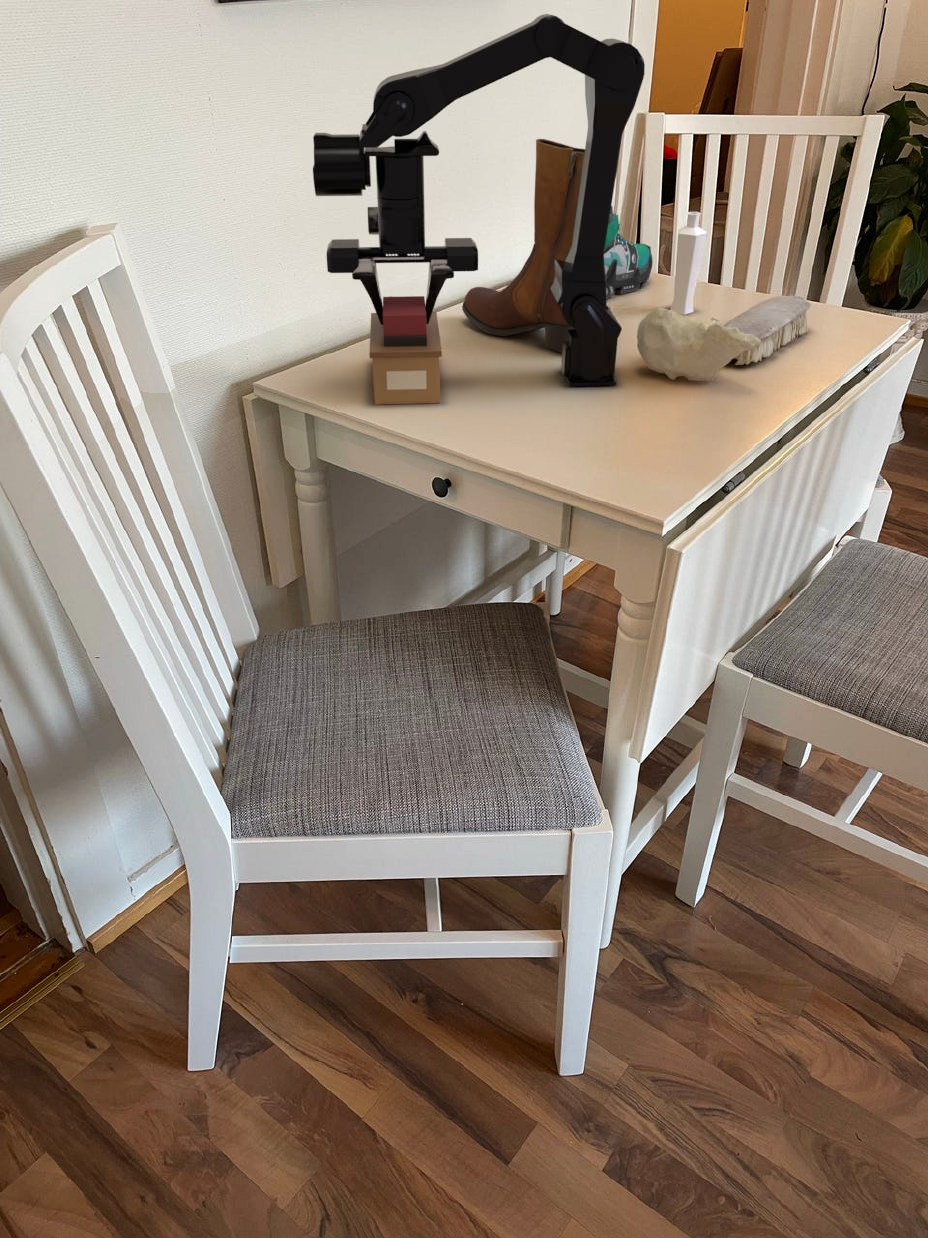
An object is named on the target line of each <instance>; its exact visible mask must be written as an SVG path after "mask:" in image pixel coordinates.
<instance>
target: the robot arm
mask: <svg viewBox="0 0 928 1238" xmlns="http://www.w3.org/2000/svg"><path fill="white" fill-rule="evenodd" d="M549 58H551V59H553V60H555V61H557V62H559V63H561V64H563V65H565V66H567V67H569V68H571V69H573V70H575V71H577V72H578V73H581V74H582V75H584V97H585V108H586V117H587V132H586V138H585V139H586V140H585V147H584V149H585V154H584V161H583V168H582V175H581V183H580V190H579V197H578V205H577V212H576V219H575V227H574V234H573V241H572V246H571V249H570V252H569V254H568V256H567V258H566V260H565V261H562V260H558V259H556V260H555V279H554V283H553V285H552V287H551V291H552V293H553V295H554V297H555V300H556V303H557V305H558V307H559V309H560V311H561V313H562V315H563V317H564V319H565V321H566V322H567V323H568V324H569V325H570V326H572V327H573V328H574V329H569V330H568V336H567V341H564V342H563V350H562V353H561V367H560V370H561V373H562V376H563V377H564V378H565V379H566V382H567V384H568V385H569V386H570V387H588V386H589V387H590V386H591V387H594V386H616V385H617V384H618V380H617V378H616V377H615V372H616V361H617V351H618V340H619V337H620V335H621V332H622V329H623V328H622V325H621V324H620V323H619V321H618V320H617V317H616V316H615V315H614V313H613V311H612V310H611V307H609V306H608V305H607V299H606V275H605V265H604V249H605V243H606V236H607V230H608V223H609V217H610V211H611V205H612V202H613V196H614V190H615V185H616V179H617V175H616V172H617V173H618V170H617V166H618V167H619V164H618V163H619V158H620V152H621V146H622V139H623V134H624V131H625V129H626V126H627V124H628V122H629V119H630V117H631V115H632V113H633V111H634V109H635V106H636V104H637V100H638V97H639V94H640V91H641V87H642V84H643V82H644V78H645V70H646V69H645V68H646V67H645V65H646V64H645V60H644V58H643V56H642V54H641V52H640V51H639V49H638V48H636V47H635V46H634V45H633V44H631V43H629V42H625V41H624V40H620V39H617V38H605V39H602V40H599V39H597V38H594V37H592V36H591V35H589V34H587V33H586V32H582V31H580V30H579V29H576V28H575V27H573V26H571V25H569V24H567V23H565V21H564V20H563V19H562V18H560V17H559V16H557V15H554V14H550V13H543V14H541V15H539V16H537V17H536V18H535V19H533V20H532V21H531V22H529V23H527V24H525V25H523V26H521V27H518V28H516V29H514V30H512V31H510V32H508V33H505V34H504V35H501V36H499V37H497V38H495V39H493V40H491V41H489V42H486V43H484V44H482V45H479V46H478V47H476V48H474V49H471V50H470V51H467V52H465V53H463V54H461V55H459V56H457V57H454V58H453V59H451V60H448V61H446V62H444V63H441V64H437V65H432V66H428V67H423V68H418V69H413V70H409V71H404V72H401V73H396V74H393V75H390V76H387V77H386V78H384V79H383V80H381V82H379V84H378V85H377V87H376V88H375V92H374V96H373V103H372V105H373V106H372V107H373V108H372V109H373V111H372V112H371V114H370V115H369V117H368V119H367V121H366V122H365V123H362V126H361V130H360V132H359V134H356V133H355V134H354V133H353V134H331V133H328V132H315V133H314V135H313V136H312V137H313V138H312V141H313V166H312V176H313V177H312V178H313V187H314V193H315V197H363V191H366V190H367V188H370V187H372V172H371V170H372V169H371V157H375V176H376V178H375V179H376V198H377V206H368V207H367V231H368V235H370V236H371V235H372V236H377V235H378V246H368V247H367V246H360V239H358V238H349V239H346V238H345V239H343V238H342V239H338V238H337V239H331V241H330V242H329V243H328V244H327V248H326V268H327V273H330V274H351V276H352V280H355V281H357V280H358V281H360V282H361V284H362V285H363V287H364V289H365V291H366V293H367V294H368V296H369V298H370V300H371V304H372V305H373V308H374V311H375V313H377V316H378V318H379V321H380V324H381V325H383V298H382V293H381V288H380V282H379V281H380V280H379V275H378V268H377V264H408V263H409V264H410V263H411V264H415V263H419V264H420V263H426V264H427V263H428V279H427V288H426V297H425V307H426V324H429V321H430V318H431V315H432V312H434V307H435V306H436V303H437V299H438V297H439V295H440V292H441V290H442V288H443V286H444V284H445V283H446V280H447V279H453V278H455V272H476V271H479V250H478V249H479V248H478V246H477V243H476V241H474V239H472V237H445V238H444V245H443V246H440V245H437V246H435V245H434V246H426V228H425V227H426V220H425V218H426V217H425V167H424V165H425V163H424V162H425V161H424V157H437V156H439V155H440V150H439V146H438V144H436V143H435V142H434V141H433V140H432V139H431V138H430V135H429V134H428V132H427V131H426V130H423V131H422V132H421V133H420V135H419V136H418V137H417V138H402V137H406V136H409V135H411V134H413V133H414V132H415V131H417V130H418V129H420V128H421V127H423V126H424V125H425V124H426V123H428V122H429V121H431V120H432V119H434V118H435V117H436V116H437V115H438V114H439V113H441V112H442V111H443V110H444V109H445V108H447V107H448V106H449V105H451V104H452V103H454V102H455V101H456V100H459V99H461V98H462V97H465V96H467V95H470V94H471V93H473V92H475V91H478V90H480V89H482V88H484V87H487V86H489V85H491V84H494V83H495V82H497V81H499V80H501V79H503V78H505V77H508V76H510V75H513V74H515V73H517V72H519V71H521V70H524V69H525V68H527V67H529V66H531V65H534V64H536V63H538V62H540V61H543V60H545V59H549ZM392 137H396V138H394V141H393V143H394V145H393V146H381V145H383V144H384V143H386V142H387V141H389V139H390V138H392ZM615 178H616V179H615ZM366 187H367V188H366Z"/></svg>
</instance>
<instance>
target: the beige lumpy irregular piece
mask: <svg viewBox="0 0 928 1238" xmlns="http://www.w3.org/2000/svg"><path fill="white" fill-rule="evenodd" d="M710 321H712V322H713V321H716V322H715V323H714V324H707V323H705V322H702V321H698V320H695V319H692V318H690V317H688V316H685V315H683V314H678V313H676V312H674V311H671V310H670V309H666V308H663V307H656V308H653V309H652V310H651V311H649V312H648V313H647V314H646V315H645V316H644V317H643V318H642V319H641V321H640V322H639V324H638V327H637V331H636V332H637V334H636V338H637V344H636V346H637V350H638V353H639V354H640V356H641V357H642V358H643V360H644V362H645V363H646V365H647V368H648V369H649V370H652V371H654V372H656V373H659V374H665V376H667V377H668V378H669V379H670V380H672V381H674V380H675V379H677V377H682V376H683V377H685V379H686V378H687V380H688V381H694V382H699V381H706V382H708V383H710V382H712V381H713V380H715V378H716V377H717V376H718V374H719V373H720V371H721V369H722V368H724V367H725V366H727V365H728V364H730V363H731V362H732V360H733V359H734V358H735V357H737V356H738V355H739V354H740V353H741V352H743V351H745V350H750V349H752V348H755V347H757V346H758V345H759V344H760V343H761V340H760V339H759V338H757V337H755V336H753V335H751V334H744V333H741V332H740V331H739V330H738V328H737V327H733V328H729V327H725V326H724V325H723V324H721V323H720V321H721V320H720V319H716V318H714V317H711V318H710ZM730 361H731V362H730Z"/></svg>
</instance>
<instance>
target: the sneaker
mask: <svg viewBox="0 0 928 1238" xmlns="http://www.w3.org/2000/svg"><path fill="white" fill-rule="evenodd" d="M620 225H621V223H620V220H619V215H618V214H616V213H614V209H613V205H612V204H611V211H610V217H609V223H608V230H607V236H606V243H605V249H604V265H605V275H606V300H607V299H609V298H611V297H614V296H615V293H617V294H619V295H622V294H628V293H632V292H636V291H638V290H639V288H644V286H645V285H646V284H647V282H648V280H649V278H650V275H651V272H652V269H653V255H652V251H651V250H652V248H651V246H650V245H648V244H645V243H632V242H630V240H629V241H628V240H627V239H625V238H624V237H623V236H622V235H621V234H620Z"/></svg>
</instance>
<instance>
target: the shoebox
mask: <svg viewBox="0 0 928 1238" xmlns="http://www.w3.org/2000/svg"><path fill="white" fill-rule="evenodd" d="M369 332H370V333H369V359H371V360H372V361H371V362H372V378H373V379H372V381H373V399H374V401H373V402H374V405H415V404H418V405H419V404H440V403H441V391H440V390H441V384H440V383H441V381H440V380H441V378H440V376H441V375H440V374H441V373H440V358H442V357H443V351H442V343H441V335H440V328H439V321H438V314H437V311H433V312H432V315H431V318H430V321H429V324H427V346H393V347H384V331H383V325H381V324H380V321H379V318H378V316H377V313H376V312H371V313H370V331H369Z"/></svg>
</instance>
